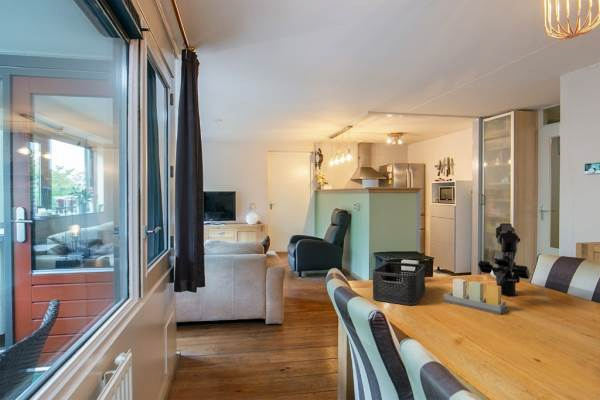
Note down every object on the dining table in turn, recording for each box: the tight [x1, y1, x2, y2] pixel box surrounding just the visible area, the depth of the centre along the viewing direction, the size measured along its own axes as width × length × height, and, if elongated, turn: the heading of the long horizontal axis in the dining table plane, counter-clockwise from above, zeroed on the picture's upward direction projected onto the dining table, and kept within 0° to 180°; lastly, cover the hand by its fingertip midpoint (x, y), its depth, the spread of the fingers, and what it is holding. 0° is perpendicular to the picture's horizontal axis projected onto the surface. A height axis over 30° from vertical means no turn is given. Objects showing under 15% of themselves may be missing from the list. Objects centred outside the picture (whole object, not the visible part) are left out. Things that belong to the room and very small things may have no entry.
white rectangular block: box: [452, 277, 468, 298], centre depth 152 cm, size 4×4×8 cm
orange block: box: [485, 284, 502, 306], centre depth 142 cm, size 4×4×8 cm
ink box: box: [400, 259, 420, 279], centre depth 187 cm, size 9×5×12 cm, turn 62°
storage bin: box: [372, 261, 426, 306], centre depth 162 cm, size 29×19×13 cm
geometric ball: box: [489, 271, 496, 280], centre depth 192 cm, size 8×8×8 cm
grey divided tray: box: [443, 291, 509, 316], centre depth 146 cm, size 8×23×3 cm, turn 41°
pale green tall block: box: [468, 280, 484, 301], centre depth 147 cm, size 4×4×8 cm
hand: (498, 285), depth 144 cm, fingers closed
